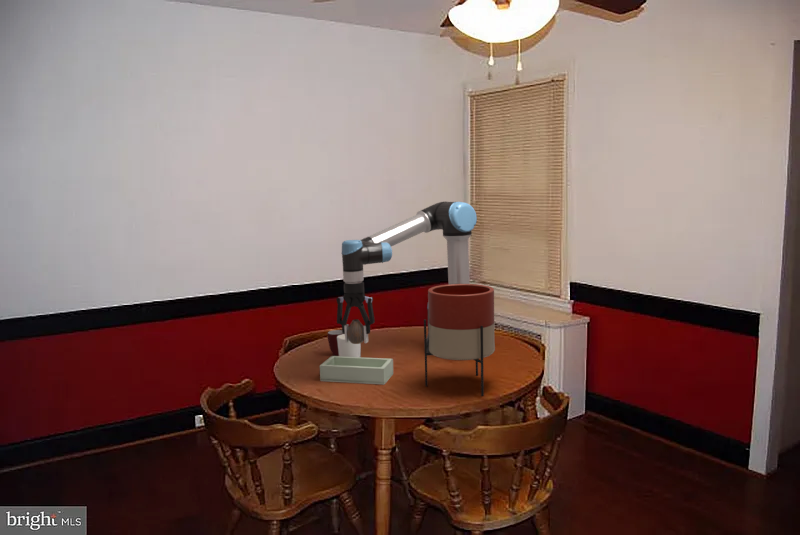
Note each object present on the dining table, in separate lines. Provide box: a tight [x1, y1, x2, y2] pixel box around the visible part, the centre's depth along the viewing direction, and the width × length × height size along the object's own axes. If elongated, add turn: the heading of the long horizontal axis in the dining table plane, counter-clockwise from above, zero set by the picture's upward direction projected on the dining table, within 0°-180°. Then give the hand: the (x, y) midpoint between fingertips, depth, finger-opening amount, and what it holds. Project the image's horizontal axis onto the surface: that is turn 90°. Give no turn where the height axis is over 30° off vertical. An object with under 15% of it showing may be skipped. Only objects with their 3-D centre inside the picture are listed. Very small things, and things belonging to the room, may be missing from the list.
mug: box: [327, 329, 343, 356], centre depth 273 cm, size 11×8×10 cm
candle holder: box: [337, 334, 362, 357], centre depth 257 cm, size 10×10×12 cm
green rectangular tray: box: [319, 355, 394, 385], centre depth 241 cm, size 25×13×6 cm, turn 76°
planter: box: [423, 283, 496, 397], centre depth 226 cm, size 24×25×35 cm
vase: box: [347, 318, 364, 344], centre depth 237 cm, size 7×7×9 cm
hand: (356, 341), depth 238 cm, fingers closed on vase, 7 cm apart
